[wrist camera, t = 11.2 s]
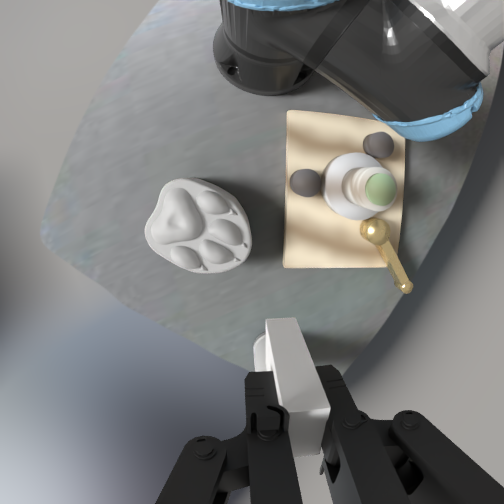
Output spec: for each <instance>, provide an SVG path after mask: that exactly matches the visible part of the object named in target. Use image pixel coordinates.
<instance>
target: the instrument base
mask: <svg viewBox="0 0 504 504" xmlns="http://www.w3.org/2000/svg"><path fill="white" fill-rule="evenodd" d="M404 171H405V138H404V137H402V136H400V135H399V134H398V133H396V132H395V131H394V130H393V129H392V128H390V127H389V126H388V125H387V124H385V123H383V122H380V121H376V120H370V119H364V118H358V117H351V116H344V115H337V114H329V113H320V112H310V111H299V110H289V111H288V112H287V143H286V189H285V220H284V245H283V266H284V268H363V267H387V266H386V264H385V262H384V260H383V258H382V256H381V255H380V253H379V251H378V249H377V248H376V246H375V245H374V244H372V243H370V242H369V241H367V240H365V239H364V238H363V237H362V236H361V234H360V224H361V222H362V221H363V220H365V219H368V218H370V217H372V216H373V217H376V218H379V219H382V220H384V221H386V222H387V223H388V224H389V226H390V230H391V233H390V237H389V239H388V240H389V242H390V244H391V245H392V247H393V249H394V251H395V253H396V255H397V254H398V246H399V238H400V229H401V219H402V207H403V193H404Z"/></svg>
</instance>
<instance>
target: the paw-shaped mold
mask: <svg viewBox="0 0 504 504" xmlns="http://www.w3.org/2000/svg"><path fill="white" fill-rule="evenodd" d="M145 236H146V239H147V241H148V243H149V245H150V247H151V248H152V249H153V250H154V251H155V252H156V253H158V254H159V255H161V256H162V257H164V258H165V259H167V260H168V261H170V262H172V263H174V264H176V265H178V266H179V267H181V268H184V269H186V270H189V271H192V272H195V273H221V272H225V271H228V270H231V269H233V268H235V267H237V266H239V265H240V264H242V263H243V262H244V261H245V260H246V259H247V257H248V256H249V254H250V251H251V247H252V236H251V230H250V225H249V220H248V217H247V215H246V213H245V211H244V209H243V208H242V206H241V204H240V203H239V202H238V200H237V199H236V198H235V197H234V196H233V195H232V194H230V193H229V192H227V191H225V190H224V189H222V188H220V187H218V186H216V185H214V184H212V183H209V182H206V181H204V180H201V179H198V178H180V179H175V180H172V181H170V182H168V183H167V184H166V185H165V186H164V187H163V189H162V191H161V193H160V196H159V199H158V203H157V206H156V208H155V210H154V212H153V214H152V215H151V216H150V218H149V219H148V221H147V223H146V226H145Z"/></svg>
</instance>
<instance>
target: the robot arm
mask: <svg viewBox="0 0 504 504" xmlns="http://www.w3.org/2000/svg"><path fill="white" fill-rule="evenodd" d="M220 6H221V13H222V20H223V22H222V23H221V25H220V26H219V28H218V30H217V32H216V34H215V37H214V42H213V53H214V58H215V62H216V65H217V67H218V69H219V71H220V72H221V74H222V75H223V76H224V77H225V78H226V79H227V80H228V81H229V82H230V83H231V84H233V85H234V86H236V87H238V88H239V89H242V90H244V91H246V92H249V93H253V94H258V95H279V94H284V93H287V92H290V91H293V90H295V89H297V88H298V87H300V86H301V85H303V84H304V83H305V82H306V81H307V80H308V79H309V78H310V76H311V75H312V74H313V72H314V71H316V72H317V73H319V74H320V75H322V76H323V77H325V78H326V79H328V80H329V81H331V82H332V83H333V84H335V85H336V86H338V87H339V88H340V89H342V90H343V91H345V92H346V93H347V94H349V95H350V96H351V97H353V98H354V99H355V100H356V101H358V102H359V103H360V104H362V105H363V106H364V107H365V108H367V109H368V110H369V111H370V112H372V114H373V116H374V117H375V118H376V119H377V120H379V121H380V122H383V123H385V124H387V125H388V126H389V127H390V128H392V129H393V130H394V131H395V132H396V133H398V134H399V135H400V136H402V137H404V138H405V139H410V140H412V141H417V142H426V141H433V140H437V139H440V138H442V137H445V136H447V135H449V134H451V133H453V132H455V131H456V130H458V129H460V128H461V127H462V126H464V125H465V124H466V123H467V122H468V121H469V120H470V119H471V118H472V113H473V112H475V111H478V109H479V108H480V106H481V103H482V100H483V89H482V85H481V82H480V81H481V80H483V79H484V78H485V77H487V76H488V75H489V74H490V60H489V56H490V52H491V51H492V50H493V49H494V48H495V47H497V46H498V45H499V44H501V43H502V42H503V41H504V0H220ZM325 55H326V56H325ZM322 59H323V60H322ZM319 63H320V64H319ZM265 363H266V369H267V371H260V372H249V373H248V375H247V377H246V378H245V402H246V427H245V429H244V431H243V432H242V433H241V434H239V435H238V436H236V437H234V438H231V439H228V440H224V441H220V440H219V439H217V438H214V437H211V436H200V437H195V438H194V439H192V440H190V441H188V443H187V444H186V445H185V447H184V449H183V450H182V452H181V454H180V456H179V458H178V460H177V462H176V464H175V466H174V468H173V470H172V472H171V474H170V476H169V478H168V480H167V482H166V484H165V486H164V488H163V489H162V491H161V493H160V495H159V497H158V499H157V501H156V503H155V504H227V503H228V500H229V497H230V493H231V491H234V490H237V489H241V488H244V487H247V486H250V497H251V504H303V503H302V497H301V492H300V487H299V483H298V477H297V472H296V467H295V462H294V457H302V456H309V455H317V454H320V451H321V447H322V449H323V453H324V458H323V462H322V465H321V468H320V475H322V474H323V472H324V471H325V475H326V479H327V482H328V486H329V489H330V493H331V497H332V500H333V504H504V488H503V486H501V485H500V484H499V483H498V482H497V481H495V480H494V479H493V478H492V477H491V476H490V475H489V474H488V473H487V472H485V471H484V470H483V469H482V468H481V467H480V466H479V465H478V464H477V463H475V462H474V461H473V460H472V459H471V458H470V457H469V456H468V455H466V454H465V453H464V452H463V451H462V450H461V449H460V448H459V447H457V446H456V445H455V444H454V443H453V442H452V441H451V440H450V439H448V438H447V437H446V436H445V435H444V434H443V433H442V432H441V431H440V430H438V429H437V428H436V427H435V426H434V425H433V424H432V423H431V422H429V421H428V420H427V419H426V418H425V417H424V416H423V415H421V414H420V413H418V412H415V411H412V410H405V411H401V412H399V413H398V414H396V415H395V416H394V419H393V420H374V419H370V418H369V417H368V415H367V414H366V413H364V412H362V411H360V410H358V409H357V407H356V405H355V403H354V401H353V399H352V397H351V395H350V392H349V390H348V388H347V387H346V384H345V382H344V381H343V378H342V376H341V374H340V372H339V371H338V370H337V369H336V368H335V367H333V366H332V365H325V366H316V367H315V366H314V363H313V361H312V358H311V356H310V353H309V350H308V348H307V345H306V343H305V340H304V338H303V335H302V333H301V330H300V328H299V325H298V323H297V320H296V318H295V317H294V318H275V319H266V361H265Z"/></svg>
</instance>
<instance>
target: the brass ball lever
mask: <svg viewBox="0 0 504 504" xmlns="http://www.w3.org/2000/svg"><path fill="white" fill-rule="evenodd" d="M390 233H391V230H390V226H389V224H388V223H387V222H386V221H384V220H382V219H379V218H376V217H373V216H372V217H370V218H368V219H365V220H363V221H362V222H361V224H360V234H361V236H362V237H363V238H364V239H365V240H367V241H369V242H370V243H372V244H374V245H375V246H376V248H377V249H378V251H379V253H380V255H381V256H382V258H383V260H384V262H385V264H386V266H387V268H388V269H389V271H390V273H391V275H392V277H393V279H394V285H395V286H396V287H397V288H398V289H400V290H401V291H402V292H404V293H405V294H407V293H410V291H411V290H412V288H413V284H412V282H410V281H409V279H408V277H407V275H406V273H405V271H404V269H403V267H402V265H401V263H400V261H399V259H398V257H397V255H396V253H395V251H394V249H393V247H392V245H391V244H390V242H389V240H388V239H389V237H390Z"/></svg>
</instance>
